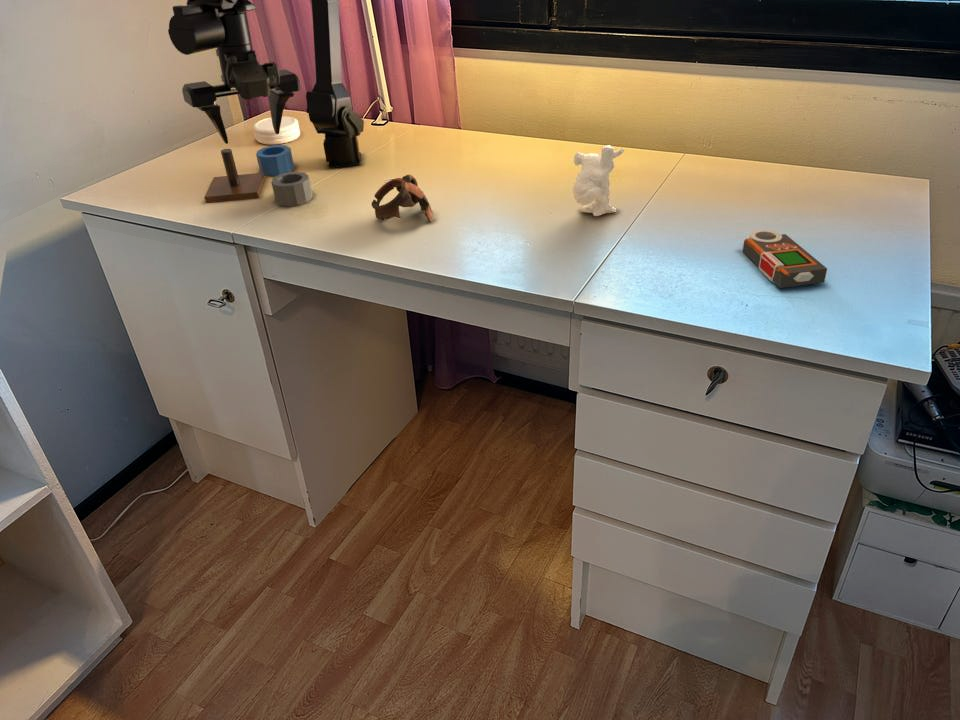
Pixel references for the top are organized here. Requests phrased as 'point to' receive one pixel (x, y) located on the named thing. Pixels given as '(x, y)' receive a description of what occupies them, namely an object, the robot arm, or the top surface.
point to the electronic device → (783, 259)
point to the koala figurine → (595, 180)
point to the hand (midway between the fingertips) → (252, 138)
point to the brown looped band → (401, 198)
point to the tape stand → (234, 183)
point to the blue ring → (275, 160)
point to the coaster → (267, 133)
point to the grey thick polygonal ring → (292, 188)
